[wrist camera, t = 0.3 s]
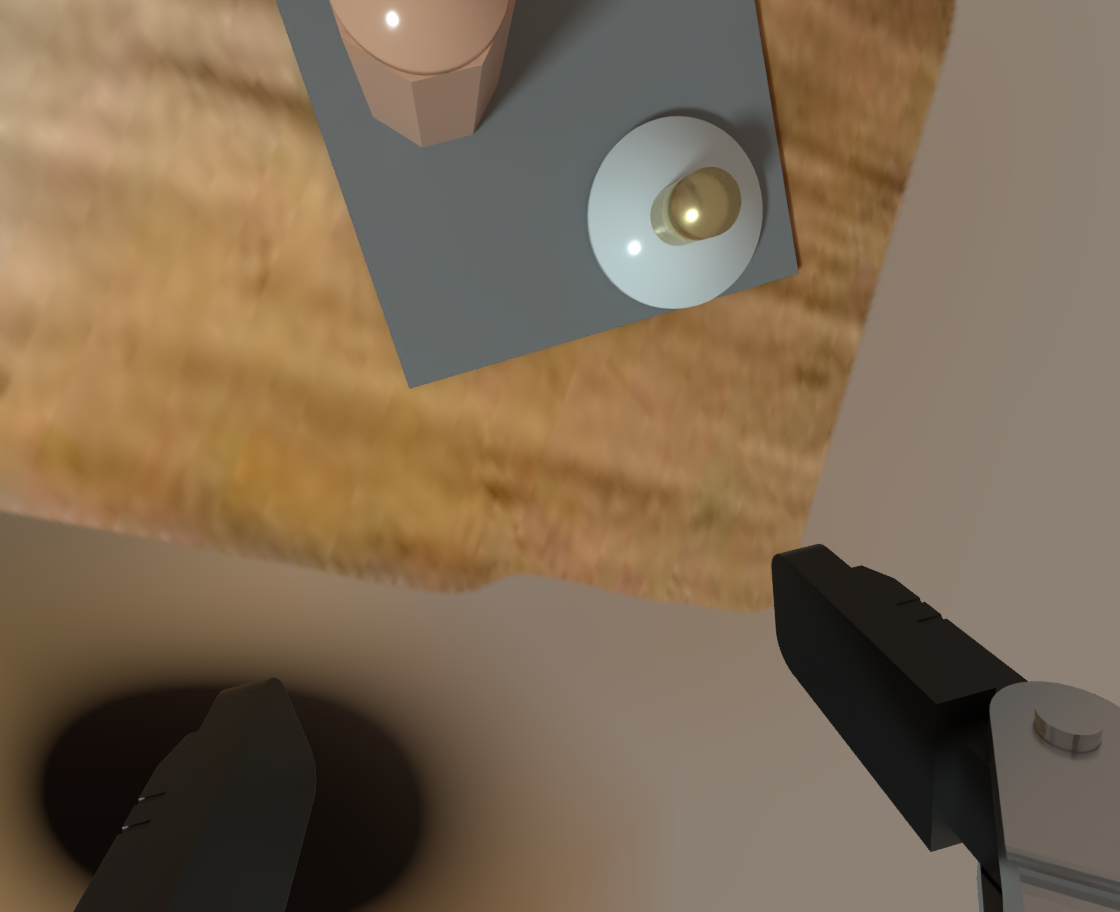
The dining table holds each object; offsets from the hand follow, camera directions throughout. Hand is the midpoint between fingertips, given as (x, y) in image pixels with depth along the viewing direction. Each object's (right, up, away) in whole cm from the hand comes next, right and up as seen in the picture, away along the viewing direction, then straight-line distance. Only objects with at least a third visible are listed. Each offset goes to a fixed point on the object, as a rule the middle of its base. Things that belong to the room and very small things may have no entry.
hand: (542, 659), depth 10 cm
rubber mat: (0, +20, +24) cm, 31 cm away
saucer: (+7, +17, +25) cm, 31 cm away
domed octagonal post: (-6, +23, +21) cm, 32 cm away
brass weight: (+7, +17, +24) cm, 30 cm away
